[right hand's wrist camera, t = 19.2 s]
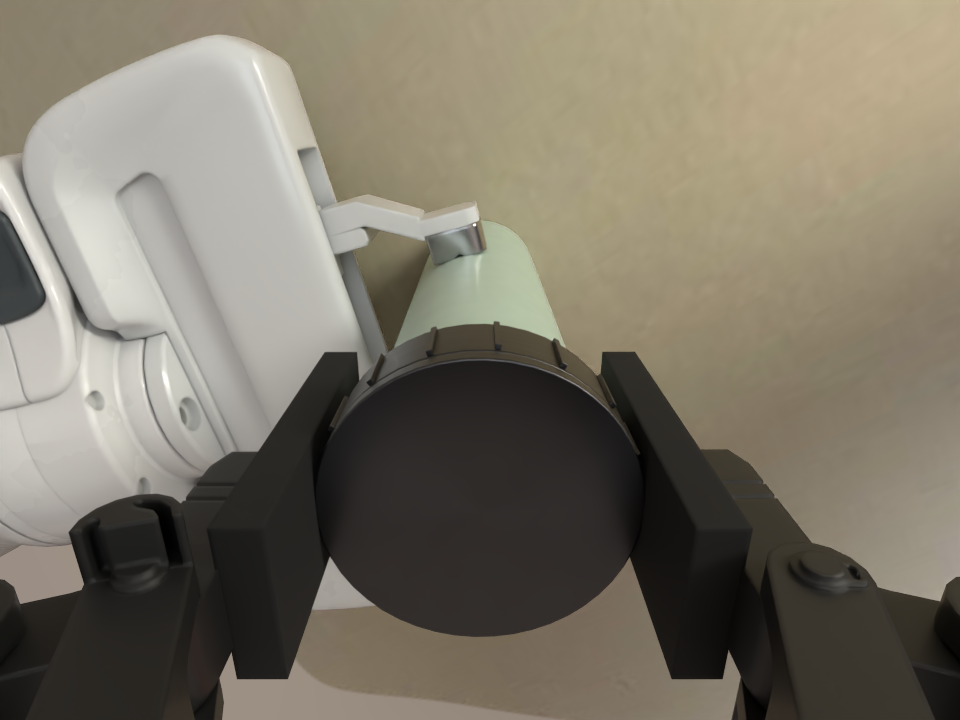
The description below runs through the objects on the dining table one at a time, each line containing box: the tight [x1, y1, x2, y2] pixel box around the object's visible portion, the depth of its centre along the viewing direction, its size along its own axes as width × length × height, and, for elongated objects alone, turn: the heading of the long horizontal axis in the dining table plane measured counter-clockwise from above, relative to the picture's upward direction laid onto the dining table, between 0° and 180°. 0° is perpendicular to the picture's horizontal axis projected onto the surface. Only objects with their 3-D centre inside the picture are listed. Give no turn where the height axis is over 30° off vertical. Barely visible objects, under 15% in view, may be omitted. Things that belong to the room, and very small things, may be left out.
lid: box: [315, 321, 645, 637], centre depth 11 cm, size 6×6×2 cm
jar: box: [394, 220, 566, 348], centre depth 19 cm, size 5×5×16 cm
